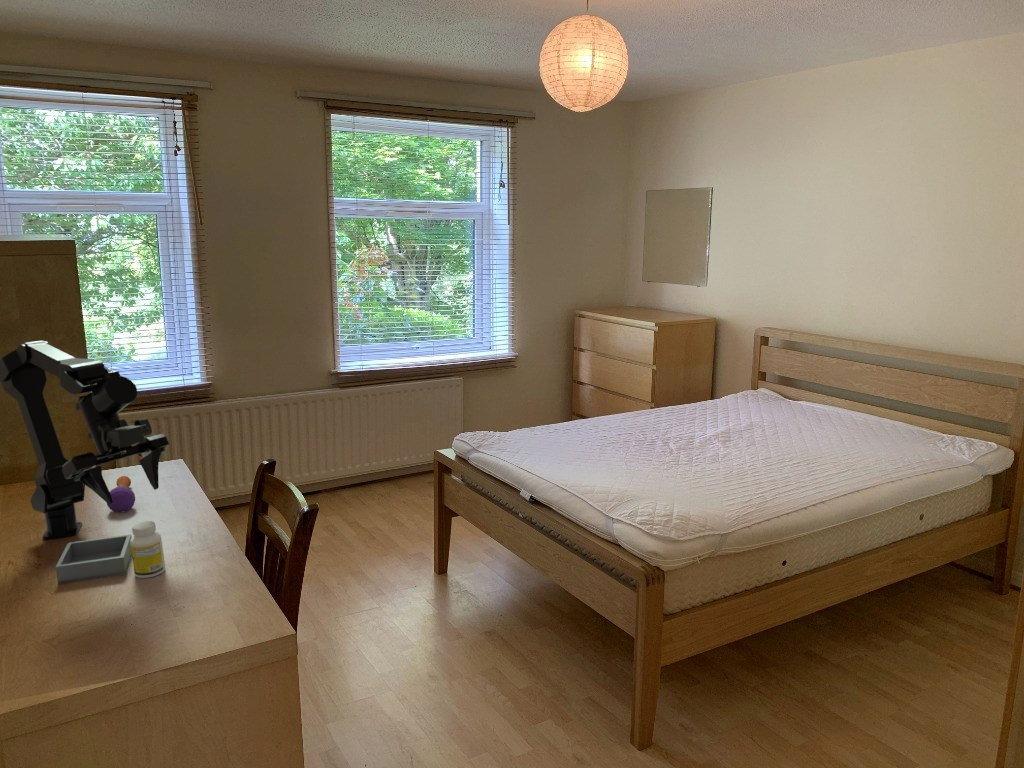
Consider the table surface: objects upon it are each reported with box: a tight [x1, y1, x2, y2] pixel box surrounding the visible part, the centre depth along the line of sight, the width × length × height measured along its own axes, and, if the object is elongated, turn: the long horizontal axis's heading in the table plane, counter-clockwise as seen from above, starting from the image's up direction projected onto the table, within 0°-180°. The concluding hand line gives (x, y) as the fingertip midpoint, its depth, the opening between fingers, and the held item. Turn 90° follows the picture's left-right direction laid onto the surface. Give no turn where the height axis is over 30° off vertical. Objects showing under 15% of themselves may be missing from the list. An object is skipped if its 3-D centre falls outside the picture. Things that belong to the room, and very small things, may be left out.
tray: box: [55, 533, 133, 585], centre depth 148 cm, size 11×11×4 cm
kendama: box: [106, 475, 136, 514], centre depth 182 cm, size 6×6×20 cm
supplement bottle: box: [130, 520, 166, 579], centre depth 144 cm, size 5×5×10 cm
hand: (134, 496), depth 146 cm, fingers open, 9 cm apart
